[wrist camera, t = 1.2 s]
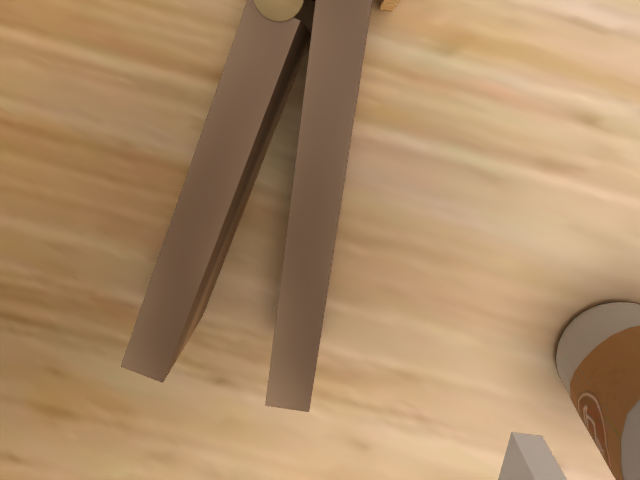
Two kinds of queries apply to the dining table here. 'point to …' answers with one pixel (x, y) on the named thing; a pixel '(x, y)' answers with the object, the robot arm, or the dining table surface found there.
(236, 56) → the tong arm
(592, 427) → the coffee cup
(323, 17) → the base
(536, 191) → the dining table surface
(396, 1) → the lock collar
